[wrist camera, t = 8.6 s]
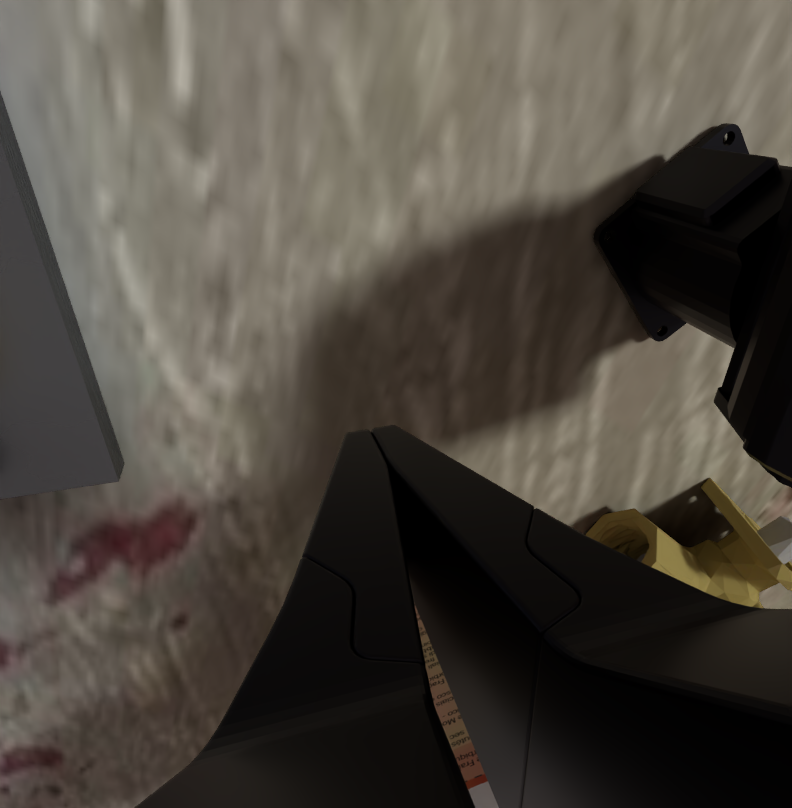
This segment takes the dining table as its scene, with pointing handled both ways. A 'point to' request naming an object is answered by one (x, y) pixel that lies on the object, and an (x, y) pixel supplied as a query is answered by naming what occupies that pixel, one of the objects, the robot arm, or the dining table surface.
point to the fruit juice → (455, 727)
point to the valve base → (42, 356)
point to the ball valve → (708, 551)
